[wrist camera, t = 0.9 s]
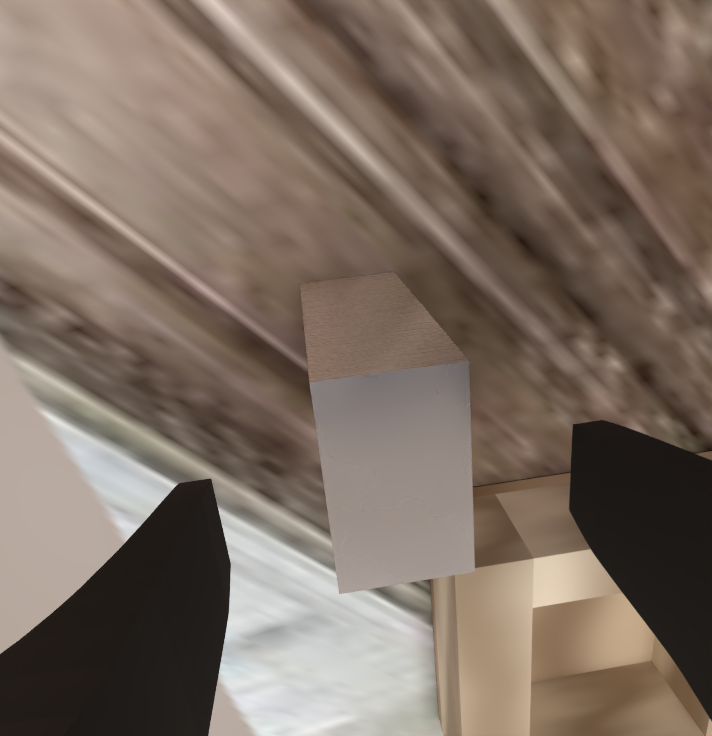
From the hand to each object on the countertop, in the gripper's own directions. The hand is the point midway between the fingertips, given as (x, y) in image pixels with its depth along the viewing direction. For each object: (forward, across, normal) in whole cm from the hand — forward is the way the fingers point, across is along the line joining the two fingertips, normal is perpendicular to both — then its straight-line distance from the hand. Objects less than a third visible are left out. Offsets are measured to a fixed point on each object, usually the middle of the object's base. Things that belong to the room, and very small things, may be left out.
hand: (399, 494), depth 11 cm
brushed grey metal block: (+8, 0, 0) cm, 8 cm away
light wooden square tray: (+8, -8, +12) cm, 17 cm away
